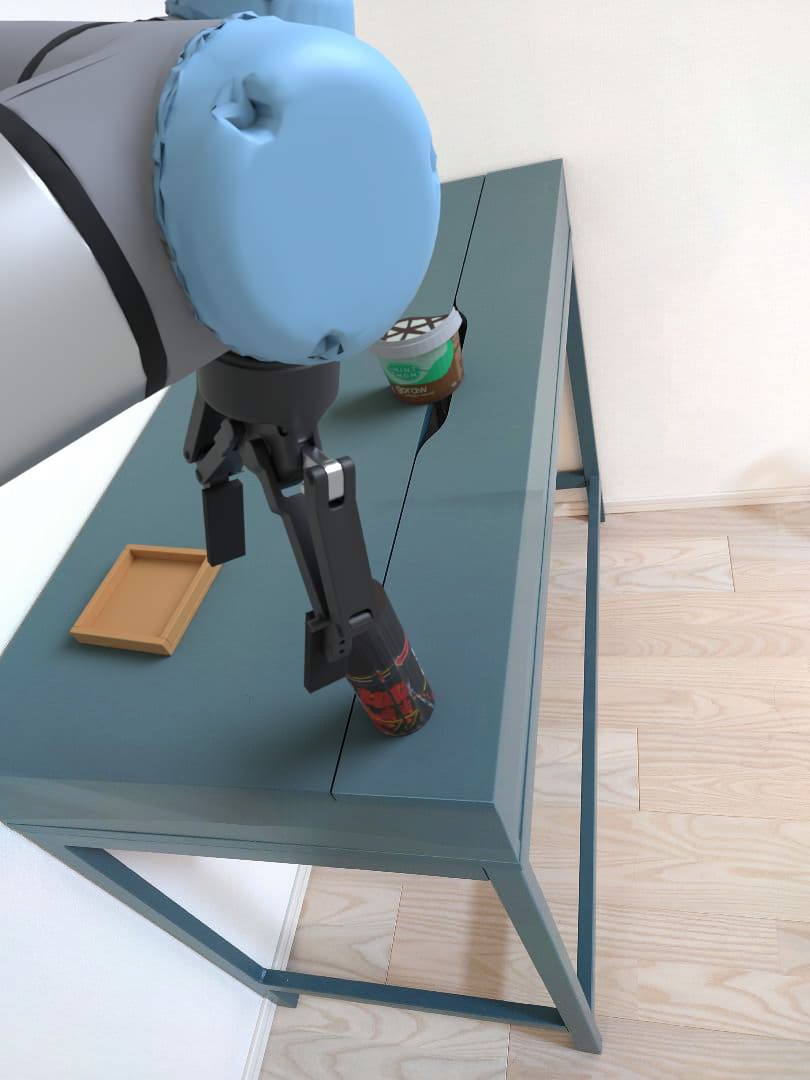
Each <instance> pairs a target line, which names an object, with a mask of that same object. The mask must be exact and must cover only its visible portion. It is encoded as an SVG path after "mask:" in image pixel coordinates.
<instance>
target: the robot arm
mask: <svg viewBox="0 0 810 1080" xmlns="http://www.w3.org/2000/svg"><path fill="white" fill-rule="evenodd" d="M164 4H165V5H164V6H165V7H164V13H165V14H166V15H165V16H164V15H163V16H154V17H151V18H148V19H139V18H138V19H136V20H133V21H92V20H88V21H87V20H86V21H85V20H0V488H2V487H3V486H5V485H6V484H8V483H9V482H12V481H13V480H15V479H16V478H18V477H19V476H21V475H22V474H24V473H26V472H27V471H29V470H31V469H33V468H34V467H36V466H38V465H39V464H40V463H43V462H44V461H45V460H47V459H49V458H51V457H52V456H54V455H55V454H57V453H58V452H60V451H62V450H63V449H65V448H67V447H68V446H70V445H71V444H73V443H75V442H76V441H79V440H80V439H81V438H83V437H85V436H86V435H88V434H89V433H91V432H92V431H95V430H96V429H98V428H100V427H102V425H104V424H106V423H107V422H109V421H110V420H112V419H114V418H115V417H117V416H119V415H120V414H122V413H124V412H125V411H127V410H129V409H130V408H132V407H133V406H135V405H137V404H138V403H139V404H140V403H142V402H143V401H145V400H147V399H149V398H150V397H152V396H153V395H155V394H157V393H159V392H160V391H162V390H164V389H166V388H168V387H170V386H172V385H174V384H176V383H178V382H179V381H181V380H183V379H185V378H186V377H188V376H190V375H192V374H193V373H195V375H196V391H195V395H194V400H193V404H192V408H191V412H190V417H189V422H188V425H187V431H186V434H185V439H184V443H183V448H182V451H183V453H182V455H183V458H184V460H185V461H186V463H187V464H188V465H190V464H195V465H196V468H195V470H194V473H195V478H196V480H197V482H198V484H199V485H200V486H203V487H202V489H201V500H202V511H203V512H202V513H203V526H204V536H205V537H204V538H205V548H206V549H205V550H206V551H207V562H208V563H209V564H210V565H211V567H214V566H217V565H220V564H222V565H224V564H225V563H228V562H231V561H233V560H237V559H239V558H242V557H245V556H246V555H247V553H246V531H245V530H246V528H245V524H246V523H245V503H244V483H243V482H242V481H241V480H240V479H239V478H234V479H231V480H230V477H233V476H236V475H239V474H243V473H245V470H244V467H245V468H246V469H247V470H248V471H249V472H250V473H252V474H254V475H255V476H256V478H257V479H258V481H259V483H260V485H261V487H262V490H263V493H264V497H265V499H266V502H267V505H268V509H269V510H270V512H271V513H273V514H275V515H278V516H279V517H280V518H281V520H282V523H283V526H284V529H285V532H286V535H287V538H288V541H289V543H290V546H291V550H292V552H293V556H294V558H295V562H296V564H297V568H298V570H299V574H300V576H301V578H302V579H301V580H302V581H303V585H304V587H305V590H306V593H307V596H308V600H309V602H310V605H311V608H312V610H309V611H306V612H305V619H304V620H305V621H304V625H305V626H304V657H303V658H304V661H303V662H304V663H303V665H304V666H303V687H304V688H305V690H306V691H307V692H308V694H309V695H311V694H313V693H315V692H317V691H320V690H321V689H323V688H325V687H328V686H330V685H332V684H334V683H335V682H338V681H340V680H342V679H345V678H346V673H347V660H348V655H349V654H350V652H351V648H352V645H351V644H352V635H354V634H356V633H358V632H361V631H363V630H365V629H367V628H369V627H372V626H374V625H376V624H378V623H379V622H380V614H379V609H378V604H377V599H376V594H375V589H374V585H373V580H372V578H373V575H372V570H371V566H370V560H369V556H368V552H367V546H366V542H365V536H364V531H363V527H362V522H361V517H360V513H359V508H358V503H357V502H358V501H357V477H356V476H357V473H356V471H357V470H356V465H355V461H354V460H353V459H352V458H351V457H350V456H349V455H347V454H346V455H344V456H340V457H338V458H334V459H333V458H331V457H330V456H329V455H328V454H326V453H325V452H323V445H322V440H321V436H320V430H319V429H320V428H319V422H320V420H321V419H322V417H323V416H324V414H325V413H326V412H327V410H328V409H329V408H330V407H331V406H332V404H333V403H334V402H335V400H336V399H337V396H338V394H339V389H340V374H341V373H340V372H341V361H344V360H347V359H350V358H352V357H354V356H356V355H357V354H360V353H361V352H364V351H365V350H368V349H367V348H368V347H370V346H371V345H372V344H374V343H375V342H377V341H378V340H379V339H380V338H382V337H383V336H384V335H385V334H386V333H387V332H388V331H389V330H390V329H391V328H392V327H393V326H394V324H395V323H396V322H397V321H398V320H400V318H401V317H402V315H403V314H404V312H405V311H406V310H407V308H408V307H409V306H410V304H411V303H412V301H414V299H415V297H416V295H417V293H418V291H419V289H420V287H421V285H422V283H423V280H424V278H425V276H426V273H427V272H428V269H429V265H430V263H431V260H432V257H433V254H434V253H433V252H434V250H435V245H436V242H437V236H438V231H439V223H440V216H441V197H442V196H441V195H442V194H441V182H440V177H439V173H438V169H437V168H438V167H437V162H438V161H437V160H438V155H437V153H436V151H435V150H436V149H435V148H434V146H433V135H432V132H431V131H432V130H431V128H430V125H429V121H428V118H427V116H426V114H425V111H424V109H423V106H422V104H421V101H420V100H419V98H418V97H417V95H416V93H415V92H414V90H413V88H412V87H411V85H410V84H409V82H408V80H407V79H406V78H405V77H404V76H403V74H402V73H401V72H400V71H399V69H398V67H396V65H395V64H393V63H392V62H391V61H390V59H388V57H386V56H385V55H384V54H383V53H382V52H380V51H379V50H378V49H377V48H375V47H373V46H371V45H370V44H368V43H367V42H366V41H364V40H362V39H360V38H358V37H356V23H355V5H354V4H355V3H354V0H165V1H164ZM302 482H303V483H302ZM298 485H300V486H299V490H300V492H299V493H296V494H292V495H290V496H286V495H284V494H283V492H282V491H283V490H286V489H289V488H292V487H295V486H298Z"/></svg>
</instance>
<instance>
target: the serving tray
mask: <svg viewBox="0 0 810 1080" xmlns="http://www.w3.org/2000/svg"><path fill="white" fill-rule="evenodd" d="M222 566H223V564H220V565H217V566H214V567H211V565H210V564H209V563H208V562H207V551H206V549H201V548H199V549H197V548H186V547H173V546H159V545H149V544H147V545H145V544H134V543H133V544H132V543H127V544H126V545H125V547H124V549H122V551H121V553H120V554H119V556H118V557H117V559H116V561H115V562H114V563H113V565H112V566H111V568H110V570H109V571H108V572H107V574H106V576H105V577H104V579H103V580H102V582H101V583H100V585H99V586H98V588H97V590H96V591H95V592H94V594H93V595H92V597H91V598H90V600H89V602H88V603H87V604H86V606H85V607H84V609H83V611H82V612H81V614H80V615H79V616H78V618H77V619H76V621H75V622H74V624H73V626H72V627H71V629H70V630H69V633H70V634H71V636H73V637H74V638H75V640H77V642H78V643H79V644H84V645H85V644H86V645H93V646H100V647H107V648H114V649H120V650H129V651H134V652H135V651H136V652H143V653H149V654H150V653H151V654H154V655H155V654H156V655H164V656H173V654H174V652H175V650H176V649H177V647H178V645H179V644H180V642H181V640H182V638H183V636H184V634H185V633H186V631H187V629H188V627H189V625H190V624H191V622H192V620H193V618H194V617H195V614H196V613H197V611H198V609H199V608H200V606H201V604H202V602H203V600H204V598H205V596H206V595H207V594H208V591H209V590H210V588H211V586H212V584H213V582H214V581H215V579H216V577H217V575H218V573H219V571H220V570H221V568H222Z"/></svg>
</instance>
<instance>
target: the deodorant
mask: <svg viewBox="0 0 810 1080" xmlns="http://www.w3.org/2000/svg"><path fill="white" fill-rule="evenodd" d="M372 580H373V585H374V589H375V594H376V599H377V604H378V609H379V614H380V622H379V623H378V624H376V625H374V626H372V627H369V628H367V629H365V630H363V631H361V632H358V633H356V634H354V635H352V644H351V645H352V648H351V652H350V654H349V655H348V660H347V673H346V677H345V679H346V680H347V682H348V684H349V686H350V687H351V689H352V690H353V692H354V694H355V695H356V697H357V699H358V700H359V702H360V703H361V705H362V707H363V709H364V710H365V712H366V713H367V716H368V717H369V719H370V721H371V722H372V724H373V725H374V726H375V728H377V730H378V731H380V732H381V733H383V734H384V735H387V736H391V737H403V736H408V735H411V734H413V733H416V732H417V731H419V730H420V729H422V727H424V726H425V725H426V724H427V723H428V721H429V720H430V718H431V717H432V714H433V712H434V709H435V696H434V692H433V690H432V688H431V686H430V684H429V681H428V680H427V678H426V676H425V674H424V670H423V669H422V667H421V665H420V663H419V661H418V658H417V656H416V654H415V652H414V650H413V647H412V646H411V643H410V641H409V639H408V636H407V635H406V632H405V630H404V628H403V625H402V624H401V621H400V619H399V618H398V615H397V613H396V611H395V609H394V606H393V605H392V603H391V601H390V599H389V596H388V594H387V592H386V589H385V588H384V586H383V584H381V583H380V581H378V580H377V579H375V578H373V577H372Z"/></svg>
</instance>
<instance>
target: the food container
mask: <svg viewBox="0 0 810 1080" xmlns="http://www.w3.org/2000/svg"><path fill="white" fill-rule="evenodd" d="M462 322H463V318H462V317H461V315H460V313H459V310H456V307H455V306H454V305H453V306H452V309H451V311H450V313H447V314H442V315H435V316H409V317H405V318H401V319H398V320H397V322H396V323H395V324H394V326H393V327H392V328H391V329H390V330H389V331H388V332H387V333H386V334H385V335H384V336H383V337H382V338H380V339H379V340H378V341H377V342H375V343H374V344H372V345H371V346H370V347H368V348H367V349H366V350H368V352H370V353H371V354H373V355H374V356H376V358H377V360H378V362H379V364H380V367H381V369H382V370H383V372H384V375H385V376H386V379H387V380H388V383H389V385H390V388H391V389H392V391H393V393H394V395H395V397H396V398H397V399H399V400H400V402H403V403H405V404H408V405H415V406H420V405H422V406H423V405H429V404H433V403H436V402H439V401H441V400H443V399H445V398H447V397H449V396H450V395H452V394H453V393H454V392H455V391H456V390H457V389H459V387H460V385H461V384H462V383H461V380H462V378H463V376H464V377H465V370H464V363H463V356H462V348H461V341H460V335H459V333H460V332H459V329H460V327H461V326H462ZM463 379H464V378H463ZM460 383H461V384H460ZM459 384H460V385H459ZM458 386H459V387H458ZM456 388H457V389H456ZM453 391H454V392H453Z"/></svg>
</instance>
